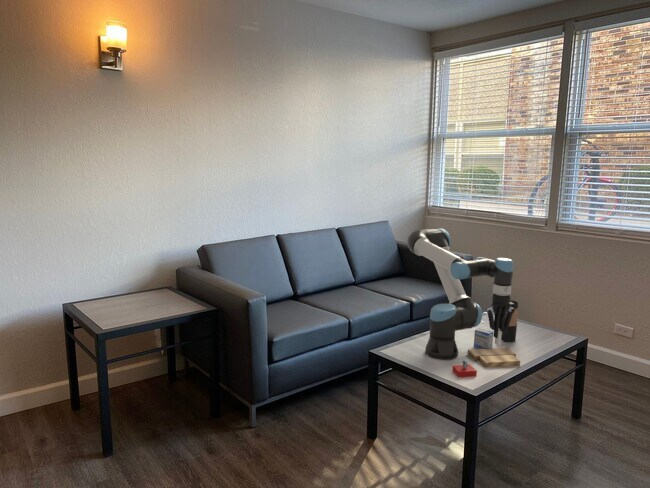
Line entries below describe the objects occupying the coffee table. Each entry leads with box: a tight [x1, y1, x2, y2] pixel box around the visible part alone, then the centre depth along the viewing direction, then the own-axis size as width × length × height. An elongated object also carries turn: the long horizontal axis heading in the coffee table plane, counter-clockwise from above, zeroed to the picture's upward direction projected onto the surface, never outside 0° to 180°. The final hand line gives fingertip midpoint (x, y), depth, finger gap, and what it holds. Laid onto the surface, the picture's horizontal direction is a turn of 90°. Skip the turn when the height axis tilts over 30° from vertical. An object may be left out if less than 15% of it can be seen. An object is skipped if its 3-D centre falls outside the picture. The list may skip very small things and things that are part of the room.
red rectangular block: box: [451, 360, 478, 378], centre depth 220 cm, size 8×7×6 cm
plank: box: [478, 355, 521, 369], centre depth 231 cm, size 16×7×2 cm, turn 97°
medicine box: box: [473, 328, 494, 349], centre depth 250 cm, size 8×4×9 cm, turn 47°
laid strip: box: [467, 347, 517, 362], centre depth 239 cm, size 20×8×2 cm, turn 97°
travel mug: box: [501, 299, 519, 343], centre depth 259 cm, size 8×8×20 cm
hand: (497, 344), depth 228 cm, fingers closed
